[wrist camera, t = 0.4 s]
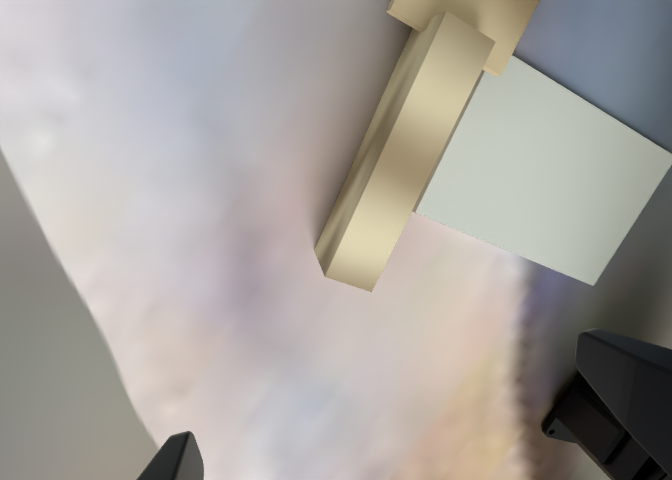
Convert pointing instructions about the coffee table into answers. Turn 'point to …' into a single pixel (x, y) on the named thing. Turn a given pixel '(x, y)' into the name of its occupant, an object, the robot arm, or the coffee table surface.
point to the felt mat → (542, 173)
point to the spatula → (414, 125)
